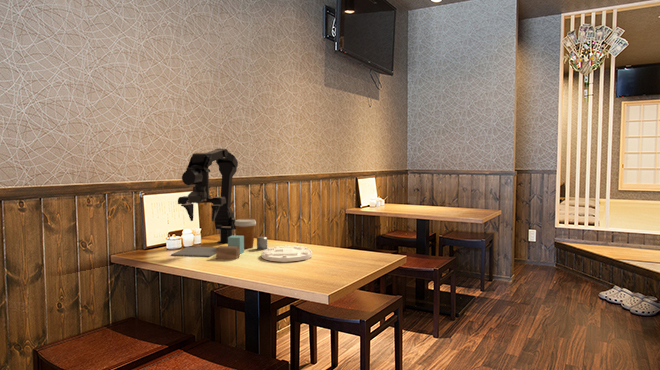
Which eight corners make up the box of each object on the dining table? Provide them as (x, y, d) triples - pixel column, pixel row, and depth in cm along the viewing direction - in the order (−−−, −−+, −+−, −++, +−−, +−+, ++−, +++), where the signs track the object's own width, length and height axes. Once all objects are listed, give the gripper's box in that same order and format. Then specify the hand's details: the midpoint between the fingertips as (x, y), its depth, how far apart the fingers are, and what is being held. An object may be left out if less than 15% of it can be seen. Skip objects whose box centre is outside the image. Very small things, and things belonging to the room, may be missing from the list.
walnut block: (219, 257, 168) (219, 246, 168) (239, 258, 167) (239, 246, 167) (216, 259, 165) (216, 247, 165) (236, 260, 164) (236, 248, 164)
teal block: (232, 252, 178) (232, 235, 178) (244, 252, 177) (243, 235, 177) (228, 254, 173) (227, 237, 173) (239, 255, 172) (239, 237, 172)
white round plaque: (252, 261, 163) (252, 254, 163) (274, 251, 182) (274, 244, 181) (301, 265, 157) (301, 257, 157) (318, 253, 176) (318, 246, 176)
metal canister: (258, 247, 186) (258, 236, 186) (268, 248, 186) (268, 236, 186) (255, 249, 182) (255, 238, 182) (265, 250, 181) (265, 238, 181)
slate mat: (189, 247, 186) (189, 246, 186) (224, 248, 184) (224, 247, 184) (171, 255, 170) (171, 254, 170) (209, 257, 168) (209, 255, 168)
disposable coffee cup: (232, 246, 189) (232, 219, 189) (253, 244, 193) (253, 218, 193) (237, 250, 181) (236, 222, 180) (259, 248, 185) (259, 221, 184)
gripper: (170, 184, 169) (171, 223, 170) (215, 185, 167) (216, 224, 168) (183, 182, 180) (184, 219, 181) (226, 183, 178) (226, 220, 179)
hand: (202, 221), depth 177 cm, fingers open, 9 cm apart
